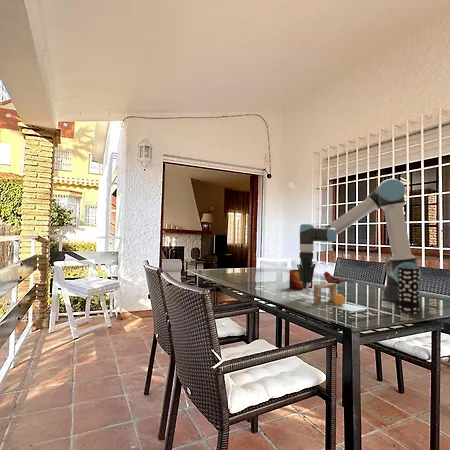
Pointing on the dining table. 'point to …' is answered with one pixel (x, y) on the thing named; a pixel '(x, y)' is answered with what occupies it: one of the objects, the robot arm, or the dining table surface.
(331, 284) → the bridge
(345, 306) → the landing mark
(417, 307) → the white-spotted black cylinder
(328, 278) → the decorative bird figurine
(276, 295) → the dining table surface
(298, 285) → the mug
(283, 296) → the dining table surface
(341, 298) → the ball
